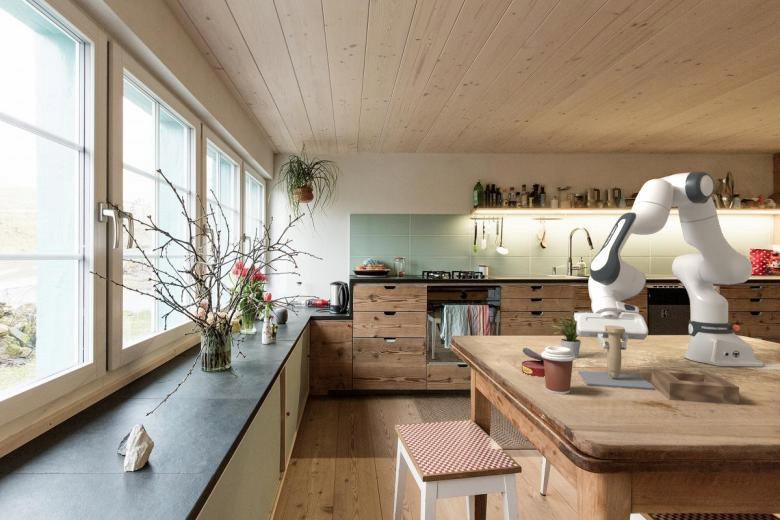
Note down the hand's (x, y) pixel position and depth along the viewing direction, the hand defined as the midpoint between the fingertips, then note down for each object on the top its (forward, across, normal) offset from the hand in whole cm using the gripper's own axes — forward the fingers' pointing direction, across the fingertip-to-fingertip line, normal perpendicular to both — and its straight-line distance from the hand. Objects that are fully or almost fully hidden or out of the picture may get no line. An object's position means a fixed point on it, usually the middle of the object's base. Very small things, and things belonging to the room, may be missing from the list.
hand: (614, 348), depth 133 cm
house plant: (-15, -8, +30) cm, 34 cm away
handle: (+6, 0, +7) cm, 9 cm away
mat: (+7, 0, +8) cm, 10 cm away
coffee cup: (+17, -18, -2) cm, 25 cm away
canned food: (+4, -22, +11) cm, 25 cm away
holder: (+12, +18, +2) cm, 22 cm away
